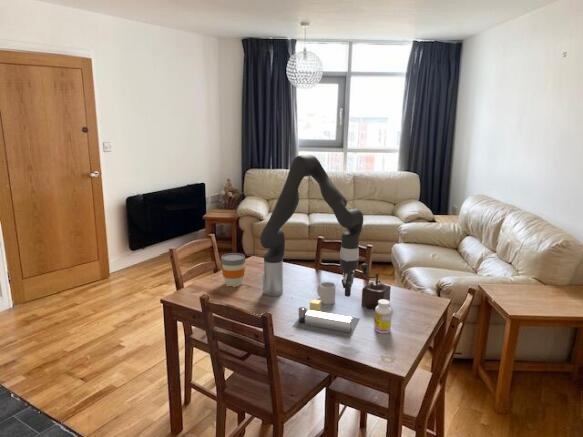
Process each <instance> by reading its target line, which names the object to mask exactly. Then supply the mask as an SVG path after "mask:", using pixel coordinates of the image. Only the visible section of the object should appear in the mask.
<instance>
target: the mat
mask: <svg viewBox="0 0 583 437" xmlns="http://www.w3.org/2000/svg"><path fill="white" fill-rule="evenodd" d="M308 310H309V309H308V308H306V313H307V311H308ZM323 312H324V313H326V312H325V311H323ZM328 313H329V314H332V313H330V312H328ZM334 314H335V315H338V314H336V313H334ZM340 315H341V316H344V315H342V314H340ZM346 316H347V317H349V316H348V315H346ZM351 317H352V328H351V329H350V332H343V331H338V330H333V329H327V328H322V327H317V326H311V325H306V324H305V323H299V317H298V318H297V319H296V321H295V322H294V324H293V325H292V326H291V327H292V328H295V329H300V330H305V331H310V332H316V333H321V334H326V335H331V336H337V337H341V338H347V339H352V336H353V334H354V332H355V331H356V328H357V326H358V324H359V321H360V320H361V318H360V317H353V316H351Z"/></svg>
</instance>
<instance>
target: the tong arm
mask: <svg viewBox="0 0 583 437" xmlns="http://www.w3.org/2000/svg"><path fill="white" fill-rule="evenodd" d="M324 312H325V311H321V312H318V311H312V310H310V309H308V311H307V313H312V314H318V315H324V316H329V317H335V318H341V319H346V320H351V322H350V329H351V328H352V317H353V316H348V315H343V316H341V315H342V314H337V315H335V314H336V313H331V314H329V313H330V312H325V313H324ZM347 316H348V317H347Z"/></svg>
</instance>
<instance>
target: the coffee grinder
mask: <svg viewBox="0 0 583 437" xmlns="http://www.w3.org/2000/svg"><path fill="white" fill-rule="evenodd" d="M368 268H369V265H368V264H367V263H362V264H360V269H361V271H362V274H363V277H364V278H367V279H368V278H369V279H375V281H370V282H369V283H367V284H366V285H365V286H364V287H363V288H362V290H361V306H362V307H364V308H366V309H367V310H371V311H374V312H375V308H376V306H378V301H379V300H381V299H385V300H388V301H389V302H390V301H391V290H392V289H391V287H392V286H391V285H386V284H384V283H382V282H381V280H379V277H380V276H379V272H376V273H375V275H367V274H368V273H369V271H368ZM390 303H391V302H390Z"/></svg>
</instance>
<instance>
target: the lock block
mask: <svg viewBox="0 0 583 437" xmlns="http://www.w3.org/2000/svg"><path fill="white" fill-rule="evenodd" d="M309 310H312V311H318V312H322V303H321V300H320V299H315V298H312V300H311V301H310V302H309Z"/></svg>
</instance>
